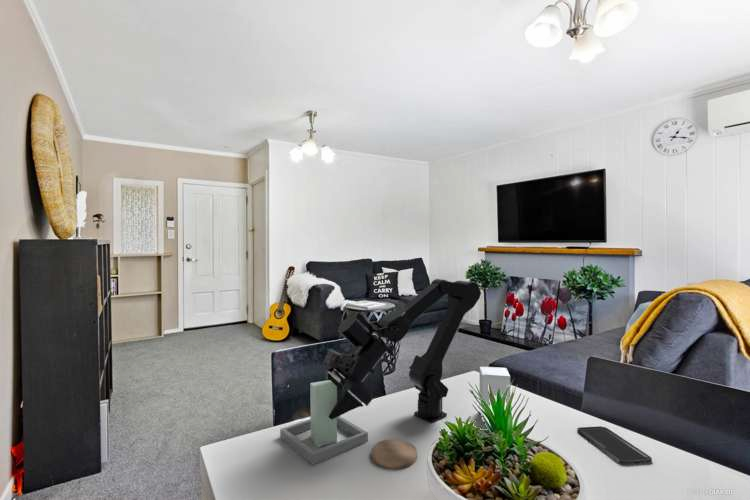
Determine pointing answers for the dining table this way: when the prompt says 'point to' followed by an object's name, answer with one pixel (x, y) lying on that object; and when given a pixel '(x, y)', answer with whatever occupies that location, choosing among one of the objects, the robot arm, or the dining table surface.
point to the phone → (614, 445)
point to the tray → (328, 451)
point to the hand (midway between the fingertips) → (323, 410)
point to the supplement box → (493, 382)
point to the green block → (323, 412)
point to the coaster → (394, 454)
